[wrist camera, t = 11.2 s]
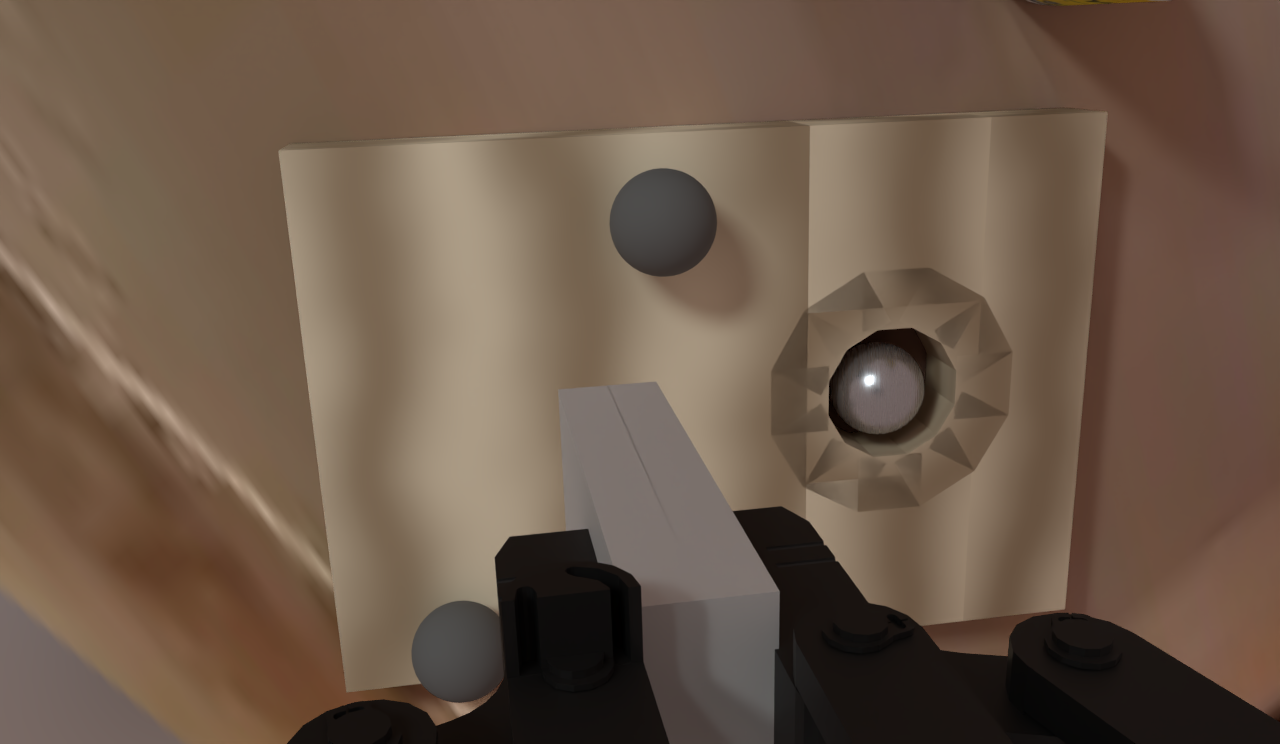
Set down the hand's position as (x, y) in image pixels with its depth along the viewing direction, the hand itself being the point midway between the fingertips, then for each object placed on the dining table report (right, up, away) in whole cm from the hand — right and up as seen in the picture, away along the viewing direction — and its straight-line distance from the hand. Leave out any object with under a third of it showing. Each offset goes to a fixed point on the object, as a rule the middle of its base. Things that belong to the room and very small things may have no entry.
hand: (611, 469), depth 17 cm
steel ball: (+9, +1, +21) cm, 23 cm away
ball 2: (+1, +6, +16) cm, 17 cm away
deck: (+3, +1, +22) cm, 22 cm away
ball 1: (-5, -8, +19) cm, 21 cm away
